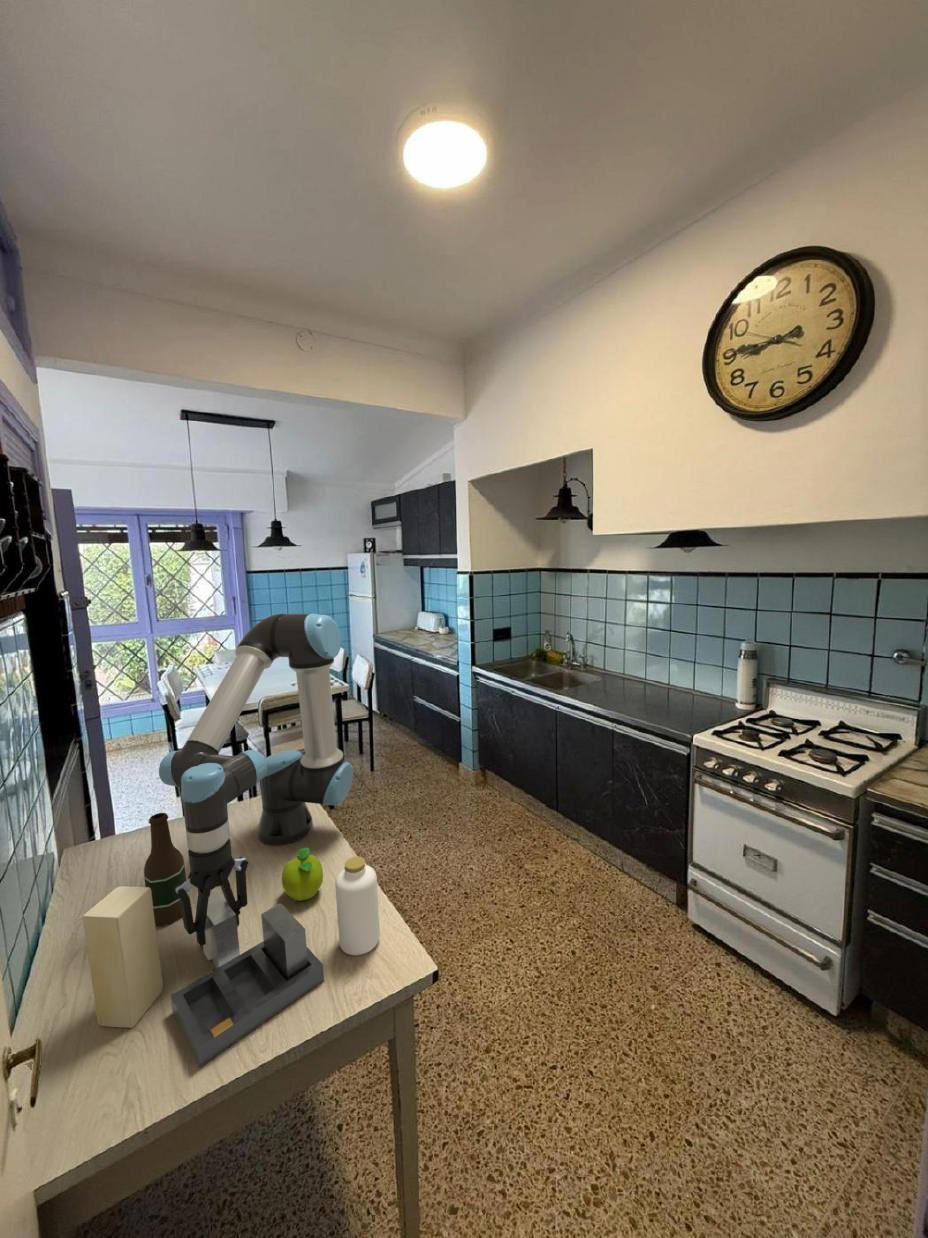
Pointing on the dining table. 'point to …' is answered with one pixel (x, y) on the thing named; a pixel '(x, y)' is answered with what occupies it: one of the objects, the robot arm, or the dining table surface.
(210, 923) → the silver rectangular block
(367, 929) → the potion bottle
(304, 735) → the robot arm
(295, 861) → the fruit
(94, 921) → the cream tall block
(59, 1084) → the dining table surface
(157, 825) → the beer bottle
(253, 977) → the rack
